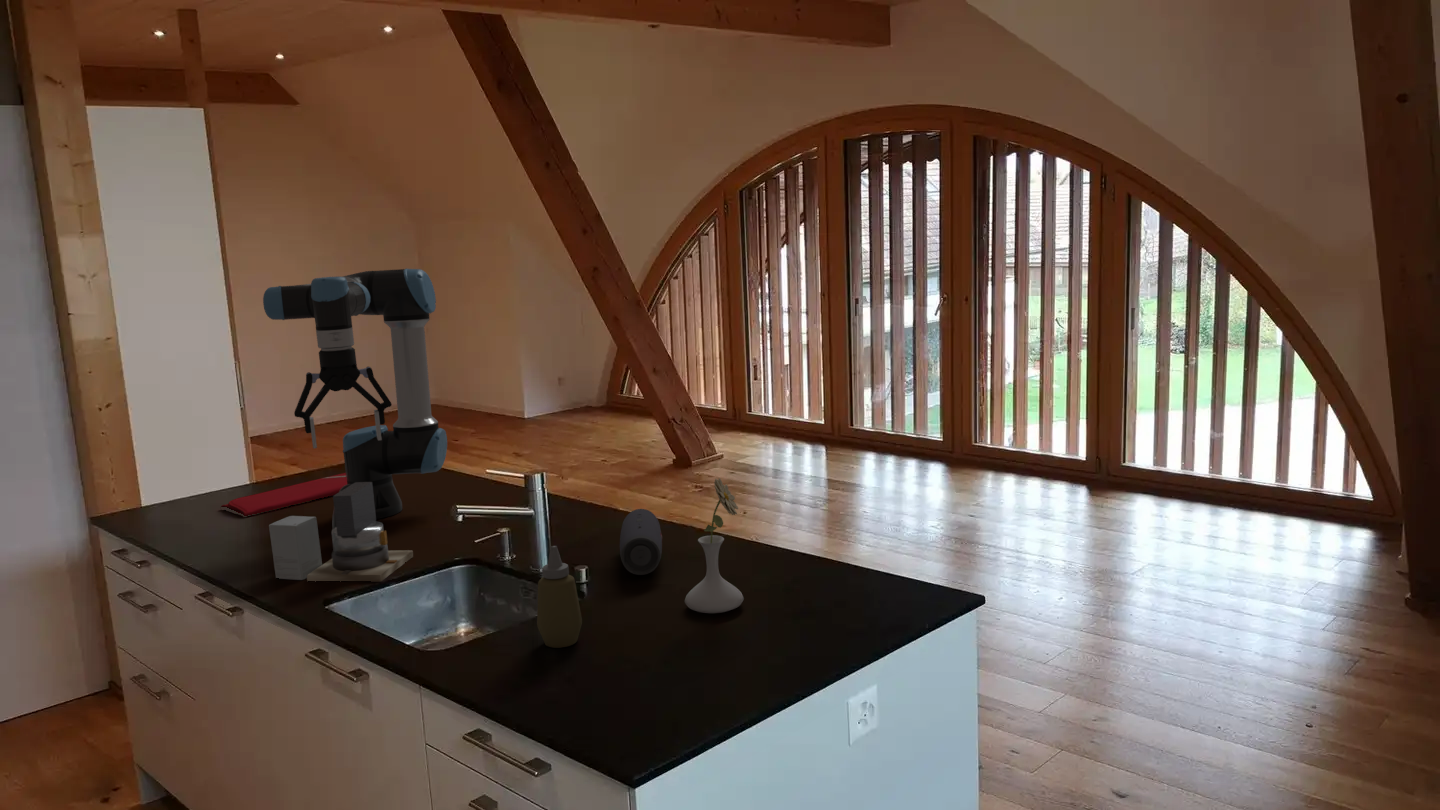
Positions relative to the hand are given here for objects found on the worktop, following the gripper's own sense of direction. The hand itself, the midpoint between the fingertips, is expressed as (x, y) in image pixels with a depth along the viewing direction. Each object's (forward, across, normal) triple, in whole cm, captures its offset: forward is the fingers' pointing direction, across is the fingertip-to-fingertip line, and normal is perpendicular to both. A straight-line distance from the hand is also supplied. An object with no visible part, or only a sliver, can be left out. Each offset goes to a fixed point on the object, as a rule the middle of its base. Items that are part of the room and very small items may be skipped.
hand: (347, 443), depth 237 cm
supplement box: (+29, -13, +2) cm, 32 cm away
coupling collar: (+24, 0, -1) cm, 24 cm away
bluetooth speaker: (+29, +57, -31) cm, 71 cm away
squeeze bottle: (+29, +29, -66) cm, 78 cm away
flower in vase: (+29, +61, -64) cm, 92 cm away
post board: (+29, 0, -1) cm, 29 cm away
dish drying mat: (+30, -10, +78) cm, 85 cm away
